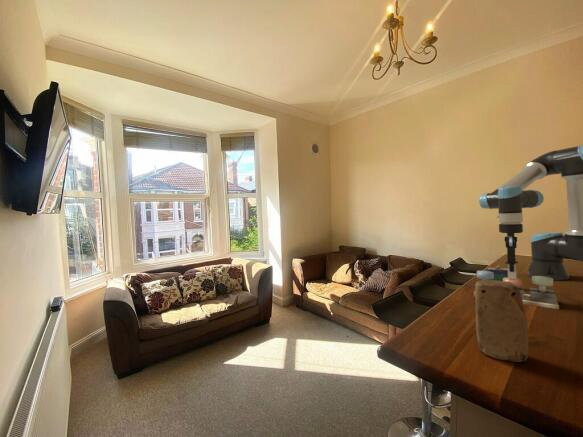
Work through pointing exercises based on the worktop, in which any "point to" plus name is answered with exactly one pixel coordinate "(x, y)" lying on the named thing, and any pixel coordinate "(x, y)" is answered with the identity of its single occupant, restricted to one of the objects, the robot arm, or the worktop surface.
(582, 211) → the robot arm
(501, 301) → the block
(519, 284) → the terracotta button
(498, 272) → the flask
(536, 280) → the sage button
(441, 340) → the worktop surface
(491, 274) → the slate button
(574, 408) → the worktop surface
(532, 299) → the button board
